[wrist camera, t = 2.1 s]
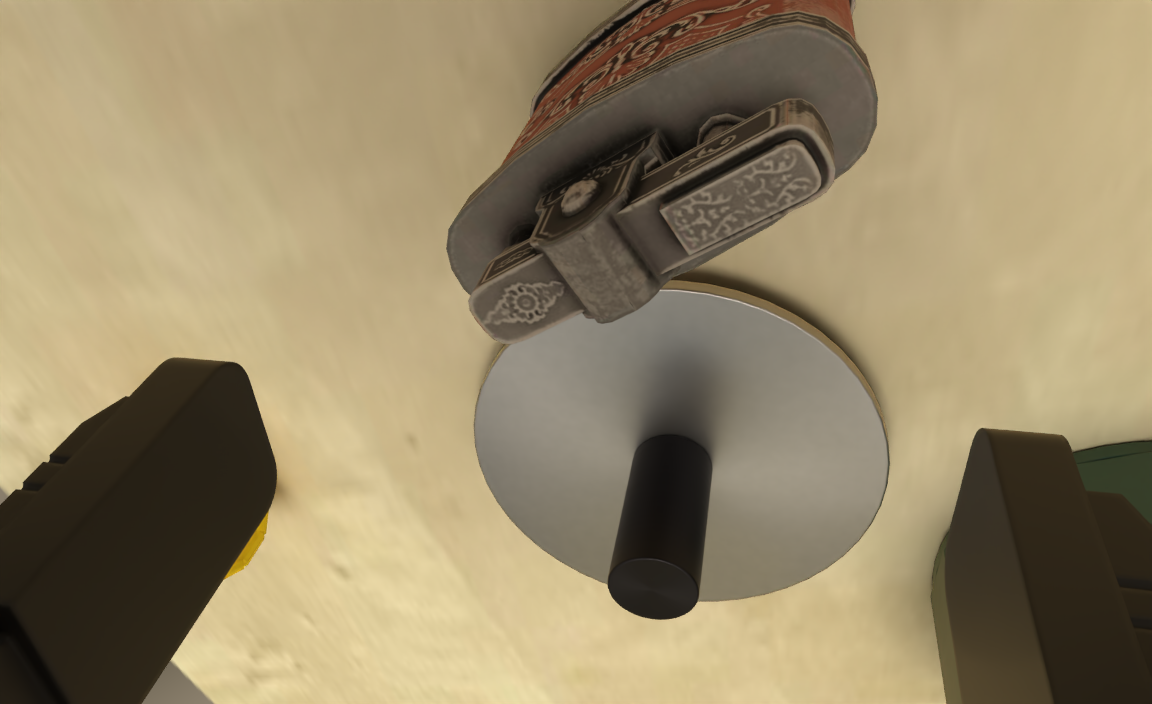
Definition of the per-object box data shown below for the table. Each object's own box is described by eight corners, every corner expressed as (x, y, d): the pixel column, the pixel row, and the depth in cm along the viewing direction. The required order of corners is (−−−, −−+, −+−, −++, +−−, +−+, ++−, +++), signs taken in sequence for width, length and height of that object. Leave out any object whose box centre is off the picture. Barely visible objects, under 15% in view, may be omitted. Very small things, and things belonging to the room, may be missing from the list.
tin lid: (501, 555, 33) (453, 698, 28) (460, 255, 26) (387, 380, 21) (857, 597, 31) (868, 760, 26) (920, 281, 24) (951, 428, 19)
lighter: (586, 189, 24) (480, 438, 16) (509, 79, 23) (353, 291, 15) (881, 23, 20) (936, 240, 12) (810, -120, 19) (820, 19, 11)
